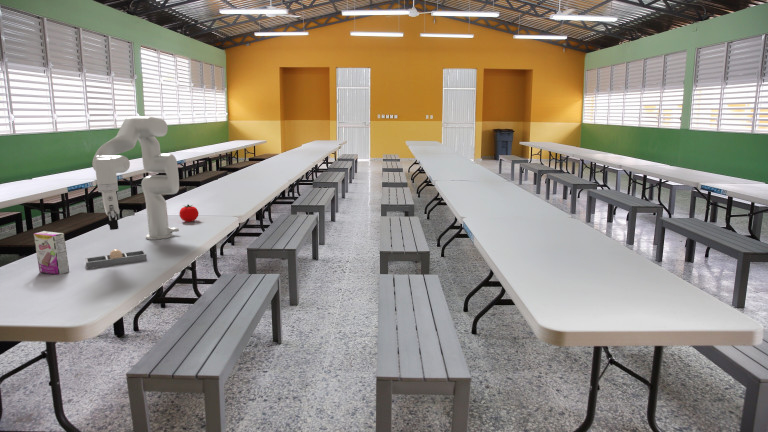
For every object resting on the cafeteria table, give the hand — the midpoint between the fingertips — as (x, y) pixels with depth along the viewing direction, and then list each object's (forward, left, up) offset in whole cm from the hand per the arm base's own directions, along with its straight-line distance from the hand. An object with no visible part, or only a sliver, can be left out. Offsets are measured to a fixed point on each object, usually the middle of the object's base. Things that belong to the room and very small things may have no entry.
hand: (113, 227), depth 224 cm
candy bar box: (+23, +2, -16) cm, 28 cm away
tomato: (-44, -68, -16) cm, 82 cm away
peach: (0, +1, -15) cm, 15 cm away
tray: (0, 0, -15) cm, 15 cm away
